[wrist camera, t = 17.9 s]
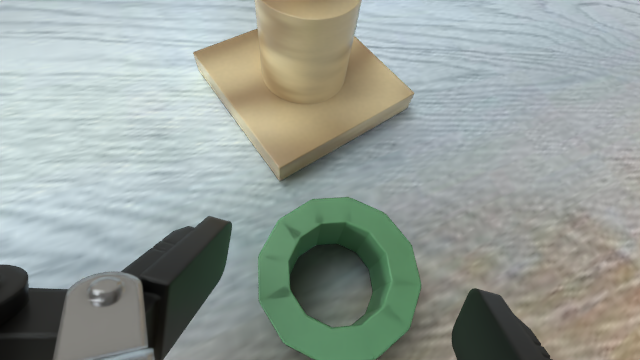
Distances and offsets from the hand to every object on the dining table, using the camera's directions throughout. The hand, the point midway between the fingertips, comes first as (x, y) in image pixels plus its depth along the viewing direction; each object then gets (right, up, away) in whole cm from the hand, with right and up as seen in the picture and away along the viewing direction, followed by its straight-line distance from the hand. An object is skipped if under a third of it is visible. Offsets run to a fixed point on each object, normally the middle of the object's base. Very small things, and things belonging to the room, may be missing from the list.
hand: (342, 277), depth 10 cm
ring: (0, -2, +5) cm, 5 cm away
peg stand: (-2, +9, +11) cm, 14 cm away
